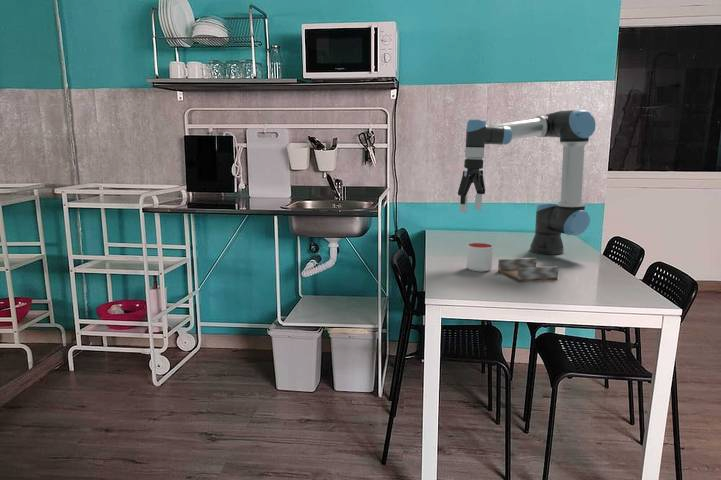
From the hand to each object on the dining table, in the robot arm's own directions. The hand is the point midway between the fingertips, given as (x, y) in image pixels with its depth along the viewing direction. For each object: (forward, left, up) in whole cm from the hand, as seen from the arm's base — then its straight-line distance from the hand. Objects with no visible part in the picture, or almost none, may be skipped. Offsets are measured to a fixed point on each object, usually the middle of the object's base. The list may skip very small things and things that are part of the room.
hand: (470, 210), depth 220 cm
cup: (-1, +8, -23) cm, 24 cm away
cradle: (-15, +21, -23) cm, 34 cm away
